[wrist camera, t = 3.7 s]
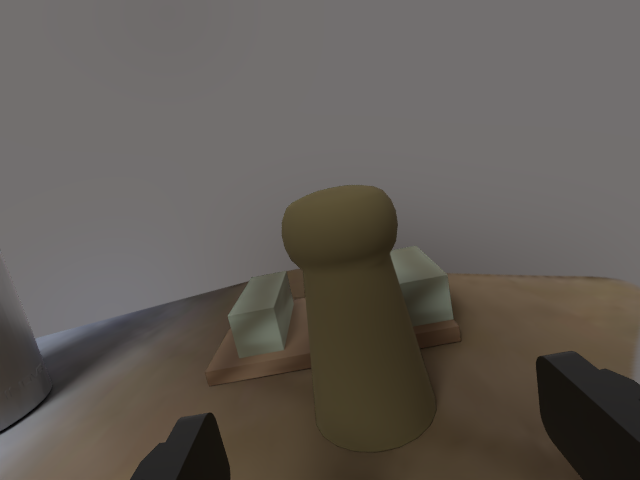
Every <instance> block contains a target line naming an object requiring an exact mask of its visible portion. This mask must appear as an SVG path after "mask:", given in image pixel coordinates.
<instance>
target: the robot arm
mask: <svg viewBox="0 0 640 480" xmlns="http://www.w3.org/2000/svg"><path fill="white" fill-rule="evenodd" d="M536 371H537V382H538V393H539V405H540V414H541V418H542V422H543V425H544V427H545V430H546V432H547V434H548V435H549V437H550V439H551V440H552V442H553V443H554V444H555V446H556V447H557V448H558V449H559V451H560V452H561V453H562V454H563V456H564V457H565V458H566V459H567V460H568V462H569V463H570V464H571V465H572V467H573V468H574V469H575V470H576V472H577V473H578V474H579V475H580V477H581V478H582V479H583V480H640V385H639V384H638V383H637V382H635V381H634V380H632V379H629V378H627V377H624V376H622V375H620V374H617V373H615V372H612V371H610V370H608V369H601V370H599V369H597V368H596V367H595V366H593V365H592V364H591V363H590V362H588V361H587V360H586V359H584V358H583V357H582V356H580V355H579V354H578V353H576V352H574V351H568V352H562V353H556V354H551V355H545V356H539V357H538V358H537V361H536ZM51 388H52V382H51V380H50V377H49V374H48V372H47V369H46V367H45V364H44V361H43V359H42V356H41V354H40V351H39V348H38V346H37V343H36V341H35V338H34V335H33V332H32V330H31V327H30V324H29V322H28V319H27V317H26V314H25V312H24V309H23V307H22V304H21V301H20V299H19V296H18V294H17V291H16V289H15V286H14V284H13V281H12V278H11V276H10V273H9V271H8V268H7V266H6V263H5V261H4V258H3V256H2V253H1V250H0V431H1V430H3V429H5V428H6V427H8V426H10V425H11V424H13V423H14V422H16V421H17V420H19V419H20V418H22V417H23V416H24V415H26V414H27V413H28V412H30V411H31V410H32V409H33V408H35V407H36V406H37V405H38V404H39V403H40V402H41V401H42V400H43V399H44V398H45V397H46V396H47V395H48V393H49V392H50V391H51ZM130 480H230V466H229V462H228V458H227V455H226V452H225V448H224V445H223V442H222V438H221V435H220V432H219V428H218V425H217V422H216V419H215V416H214V415H213V414H212V413H204V414H199V415H193V416H187V417H181V418H180V419H179V420H178V421H177V423H176V424H175V426H174V428H173V430H172V432H171V433H170V435H169V437H168V439H167V440H166V442H165V443H159V444H158V445H157V446H156V447H155V448H154V449H153V450H152V451H151V452H150V453H149V454H148V455H147V456H146V457H145V458H144V459H143V460H142V461H141V462H140V464H139V466H138V467H137V469H136V471H135V472H134V474H133V476H132V477H131V479H130Z"/></svg>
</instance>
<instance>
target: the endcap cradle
mask: <svg viewBox="0 0 640 480" xmlns="http://www.w3.org/2000/svg"><path fill="white" fill-rule="evenodd" d="M390 255H391V259H392V262H393V265H394V268H395V271H396V275H397V278H398V281H399V284H400V287H401V291H402V294H403V297H404V300H405V303H406V307H407V310H408V313H409V316H410V319H411V322H412V326H413V329H414V332H415V335H416V338H417V342H418V345H419V348H425V347H431V346H436V345H442V344H447V343H453V342H458V341H461V337H460V329H459V325H458V324H457V323H456V322H455V321H454V319H453V313H452V305H451V298H450V291H449V284H448V277H447V274H446V273H445V272H444V271H443V270H442V269H441V268H439V267H438V266H437V265H436V264H435V263H434V262H433V261H432V260H431V259H430V258H428V256H426V255H425V254H424V253H423V252H422V251H421V250H420V249H419V248H418V247H417V246H412V247H407V248H402V249H397V250H391V252H390ZM228 319H229V323H230V326H231V327H230V329H229V330H228V332H227V334H226V336H225V337H224V339H223V341H222V343H221V344H220V346H219V348H218V350H217V352H216V353H215V355H214V357H213V359H212V360H211V362H210V364H209V366H208V368H207V369H206V371H205V374H206V378H207V381H208V385H209V386H213V385H219V384H224V383H230V382H235V381H241V380H246V379H252V378H258V377H263V376H269V375H274V374H280V373H285V372H291V371H297V370H302V369H308V368H311V357H310V346H309V334H308V323H307V311H306V300H305V298H300V299H295V300H293V298H292V294H291V289H290V285H289V281H288V276H287V272H286V271H283V272H278V273H273V274H267V275H262V276H257V277H252V278H251V279H250V281H249V283H248V284H247V286H246V288H245V289H244V291H243V292H242V294H241V296H240V297H239V299H238V300H237V302H236V304H235V305H234V307H233V308H232V310H231V312H230V313H229V315H228Z"/></svg>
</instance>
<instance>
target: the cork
mask: <svg viewBox="0 0 640 480" xmlns="http://www.w3.org/2000/svg"><path fill="white" fill-rule="evenodd" d="M397 226H398V223H397V216H396V210H395V208H394V206H393V203H392V201H391V199H390V198H389V197H388V196H387V195H386V193H385V192H384V191H383V190H381V189H378V188H376V187H374V186H364V185H346V186H339V187H333V188H328V189H324V190H320V191H317V192H314V193H311V194H309V195H306V196H305V197H302V198H301V199H299V200H297V201H295V202H293V203H291V204H290V205H289V206H288V207H287V209H286V211H285V214H284V217H283V220H282V238H283V242H284V246H285V249H286V251H287V253H288V255H289V257H290V259H291V260H292V261H293V262H294V263H295V264H296V265H297V266H298V267H299V268H300V269H301V270H303V277H304V288H305V300H306V311H307V323H308V334H309V346H310V357H311V368H312V380H313V391H314V403H315V414H316V425H317V427H318V428H319V430H320V432H321V433H322V435H323V436H324V437H325V438H326V439H328V440H329V441H331V442H332V443H333V444H335V445H336V446H339V447H342V448H345V449H349V450H352V451H356V452H380V451H385V450H389V449H393V448H398V447H401V446H403V445H404V444H406V443H408V442H410V441H412V440H414V439H416V438H418V437H419V436H420V435H421V434H422V433H423V432H424V431H425V430H426V429H427V428H428V427H429V426H430V425H431V422H432V420H433V418H434V415H435V413H436V402H435V396H434V393H433V389H432V386H431V383H430V380H429V377H428V374H427V370H426V367H425V364H424V361H423V358H422V354H421V351H420V348H419V345H418V342H417V338H416V335H415V332H414V329H413V326H412V322H411V319H410V316H409V313H408V310H407V307H406V303H405V300H404V297H403V294H402V291H401V287H400V284H399V281H398V278H397V275H396V271H395V268H394V265H393V262H392V259H391V255H390V252H391V250H392V248H393V246H394V244H395V242H396V237H397Z"/></svg>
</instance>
